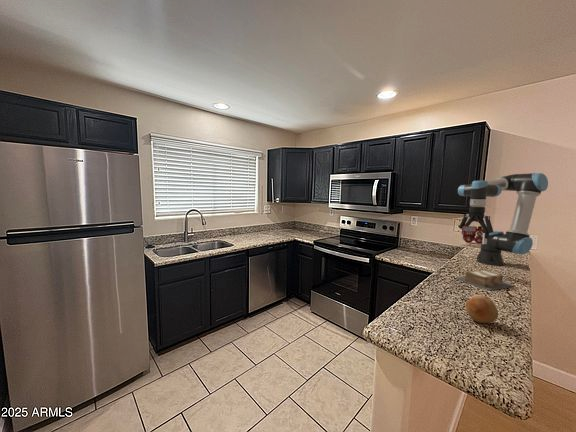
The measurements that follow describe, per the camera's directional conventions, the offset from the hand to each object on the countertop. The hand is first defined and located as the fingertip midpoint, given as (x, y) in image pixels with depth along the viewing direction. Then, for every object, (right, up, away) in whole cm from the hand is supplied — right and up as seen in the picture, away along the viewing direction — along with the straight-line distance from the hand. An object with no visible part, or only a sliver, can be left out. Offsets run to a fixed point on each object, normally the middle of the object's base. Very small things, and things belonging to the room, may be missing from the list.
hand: (473, 241), depth 148 cm
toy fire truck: (0, -1, 0) cm, 1 cm away
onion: (-40, -25, -55) cm, 72 cm away
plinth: (-6, -21, -14) cm, 27 cm away
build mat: (-4, -21, -13) cm, 25 cm away
